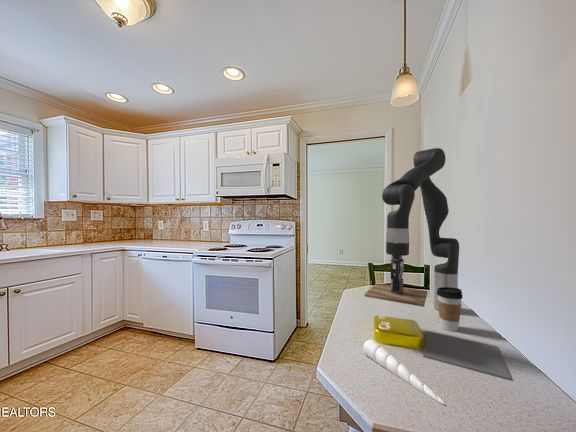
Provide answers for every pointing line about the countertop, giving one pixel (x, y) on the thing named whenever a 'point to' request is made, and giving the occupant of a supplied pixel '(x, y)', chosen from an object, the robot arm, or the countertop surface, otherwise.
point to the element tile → (397, 332)
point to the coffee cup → (449, 307)
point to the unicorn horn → (396, 367)
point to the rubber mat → (465, 354)
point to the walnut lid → (398, 294)
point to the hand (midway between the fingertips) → (396, 289)
